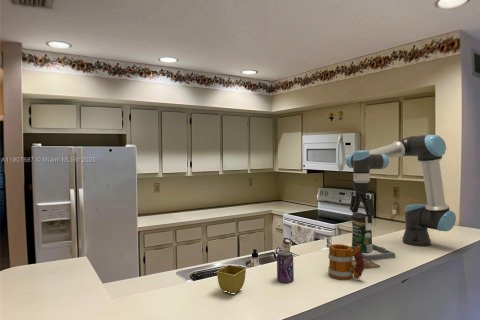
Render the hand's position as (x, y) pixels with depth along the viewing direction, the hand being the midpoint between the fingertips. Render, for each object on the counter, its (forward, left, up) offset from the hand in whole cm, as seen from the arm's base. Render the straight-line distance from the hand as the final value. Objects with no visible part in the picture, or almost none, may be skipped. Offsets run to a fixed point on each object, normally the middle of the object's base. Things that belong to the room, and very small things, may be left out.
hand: (361, 227), depth 157 cm
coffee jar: (0, 0, -12) cm, 12 cm away
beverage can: (+43, +7, -18) cm, 48 cm away
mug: (+16, +11, -18) cm, 27 cm away
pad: (0, 0, -18) cm, 18 cm away
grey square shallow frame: (-14, -13, -18) cm, 26 cm away
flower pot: (+68, +12, -18) cm, 72 cm away
